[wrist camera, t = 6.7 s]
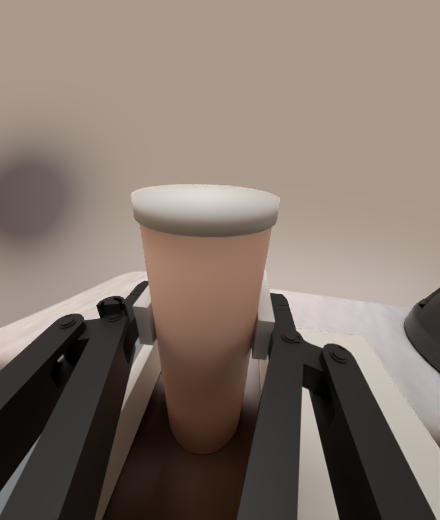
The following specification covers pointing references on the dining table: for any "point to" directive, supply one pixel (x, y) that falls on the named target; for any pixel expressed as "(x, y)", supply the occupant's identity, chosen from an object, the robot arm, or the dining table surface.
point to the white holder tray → (311, 453)
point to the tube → (204, 299)
